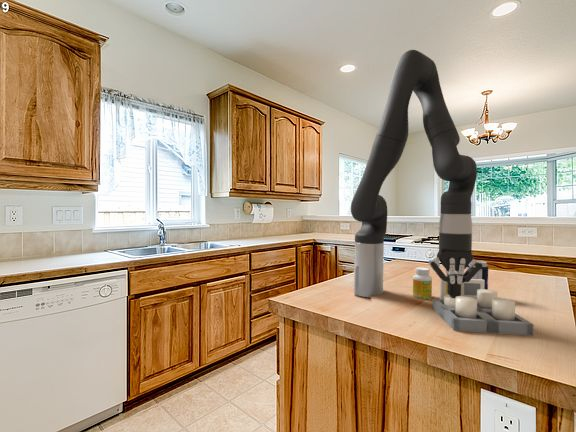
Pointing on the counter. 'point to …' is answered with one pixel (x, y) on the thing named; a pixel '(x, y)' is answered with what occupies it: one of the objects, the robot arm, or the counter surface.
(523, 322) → the button board
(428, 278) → the supplement bottle
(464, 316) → the button front left
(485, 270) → the beverage can
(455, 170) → the robot arm
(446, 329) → the counter surface
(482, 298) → the button back right
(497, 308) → the button front right
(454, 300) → the button back left
